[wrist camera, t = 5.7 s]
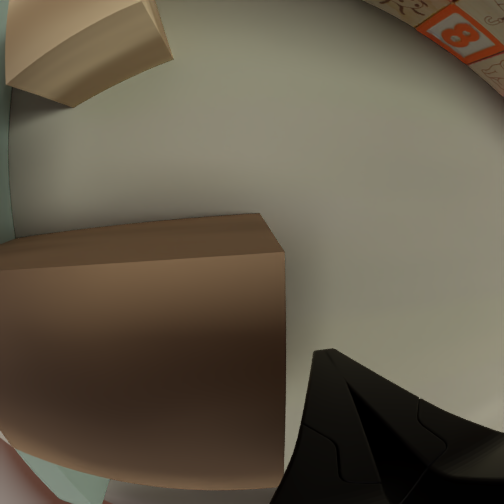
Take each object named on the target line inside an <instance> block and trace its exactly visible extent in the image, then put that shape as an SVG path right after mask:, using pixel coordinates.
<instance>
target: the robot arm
mask: <svg viewBox="0 0 504 504" xmlns="http://www.w3.org/2000/svg"><path fill="white" fill-rule="evenodd" d="M269 504H504V433H502V432H499V431H496V430H493V429H490V428H487V427H484V426H482V425H479V424H476V423H474V422H471V421H468V420H466V419H463V418H461V417H458V416H456V415H454V414H451V413H449V412H447V411H444V410H442V409H440V408H438V407H436V406H434V405H432V404H431V403H429V402H427V401H425V400H423V399H419V397H417V396H416V395H414V394H412V393H410V392H408V391H407V390H405V389H403V388H401V387H399V386H398V385H396V384H394V383H392V382H391V381H389V380H387V379H385V378H384V377H382V376H380V375H378V374H377V373H375V372H373V371H371V370H370V369H368V368H366V367H365V366H363V365H361V364H359V363H358V362H356V361H354V360H353V359H351V358H349V357H348V356H346V355H344V354H342V353H341V352H339V351H337V350H336V349H333V348H332V349H324V350H316V351H314V352H313V358H312V364H311V371H310V377H309V382H308V388H307V394H306V399H305V404H304V410H303V415H302V420H301V425H300V429H299V433H298V438H297V441H296V445H295V449H294V452H293V455H292V457H291V460H290V462H289V464H288V467H287V469H286V471H285V473H284V476H283V478H282V480H281V482H280V484H279V486H278V488H277V490H276V492H275V494H274V496H273V498H272V500H271V502H270V503H269Z"/></svg>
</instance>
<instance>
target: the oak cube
mask: <svg viewBox="0 0 504 504" xmlns="http://www.w3.org/2000/svg"><path fill="white" fill-rule="evenodd" d="M171 60H173V56H172V53H171V50H170V47H169V43H168V40H167V37H166V34H165V31H164V28H163V24H162V21H161V18H160V15H159V12H158V8H157V5H156V2H155V0H9V5H8V14H7V24H6V40H5V81H6V85H8V86H11V87H14V88H18V89H21V90H24V91H27V92H30V93H33V94H36V95H39V96H42V97H45V98H47V99H50V100H53V101H56V102H59V103H62V104H64V105H67V106H70V107H72V108H74V107H76V106H77V105H79V104H81V103H82V102H84V101H86V100H88V99H89V98H91V97H93V96H95V95H97V94H99V93H100V92H102V91H104V90H106V89H108V88H110V87H112V86H114V85H116V84H118V83H120V82H122V81H124V80H126V79H128V78H130V77H133V76H135V75H137V74H139V73H141V72H144V71H146V70H148V69H151V68H153V67H156V66H158V65H160V64H163V63H166V62H168V61H171Z"/></svg>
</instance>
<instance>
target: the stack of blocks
mask: <svg viewBox="0 0 504 504" xmlns="http://www.w3.org/2000/svg"><path fill="white" fill-rule="evenodd" d="M362 1H365V2H367V3H369V4H371V5H373V6H375V7H377V8H379V9H381V10H383V11H385V12H387V13H389V14H391V15H393V16H395V17H397V18H398V19H400V20H402V21H404V22H406V23H407V24H409V25H411V26H412V27H414V28H415V29H416V30H417V31H418V32H420V33H422V34H423V35H425V36H426V37H428V38H430V39H431V40H433V41H434V42H436V43H437V44H439V45H440V46H441V47H443V48H444V49H446V50H447V51H449V52H450V53H451V54H453V55H454V56H455V57H457V58H458V59H459V60H461V61H462V62H463V63H465V64H467V65H468V66H469V67H470V68H471V69H472V70H473V71H474V72H475V73H477V74H478V75H479V76H480V77H481V78H482V79H484V80H485V81H486V82H487V83H488V84H489V85H490V86H492V87H493V88H494V89H495V90H496V91H497V92H498V93H499V94H500V95H501V96H503V97H504V0H362Z"/></svg>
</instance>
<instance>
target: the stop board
mask: <svg viewBox="0 0 504 504" xmlns="http://www.w3.org/2000/svg"><path fill="white" fill-rule="evenodd" d="M8 5H9V0H0V244H2V243H5V242H7V241H10V240H13V239H15V232H14V225H13V218H12V210H11V200H10V188H9V170H8V131H9V113H10V101H11V92H12V87H11V86H8V85H6V81H5V40H6V24H7V14H8ZM15 450H16V451H17V452H18V454H19V455H20V456H21V457H22V459H23V460H24V461H25V462H26V463H27V465H28V466H29V467H30V468H31V469H32V470H33V471H34V473H35V474H36V475H37V476H38V477H39V478H40V479H41V480H42V481H43V482H44V483H45V484H46V485H47V487H48V488H49V489H50V490H51V491H52V492H53V493H54V494H55V495H56V496H58V498H60V499H61V500H64V501H67V502H70V503H72V504H102V502H103V499H104V496H105V493H106V489H107V486H108V483H109V480H110V479H108V478H103V477H99V476H95V475H91V474H87V473H83V472H79V471H76V470H72V469H69V468H66V467H62V466H59V465H56V464H53V463H50V462H48V461H45V460H42V459H39V458H37V457H34V456H32V455H29V454H27V453H24V452H22V451H19V450H17V449H15Z"/></svg>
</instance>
